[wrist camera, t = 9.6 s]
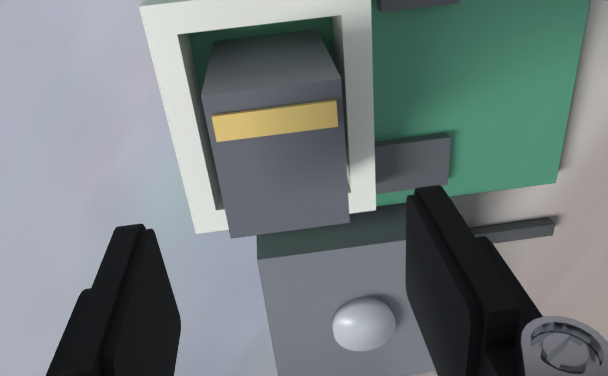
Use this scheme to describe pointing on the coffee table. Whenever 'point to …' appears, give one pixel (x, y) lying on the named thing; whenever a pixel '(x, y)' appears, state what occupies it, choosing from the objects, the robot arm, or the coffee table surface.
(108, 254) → the robot arm
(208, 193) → the board
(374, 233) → the grey drawer with knob
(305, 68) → the plug
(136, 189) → the coffee table surface
